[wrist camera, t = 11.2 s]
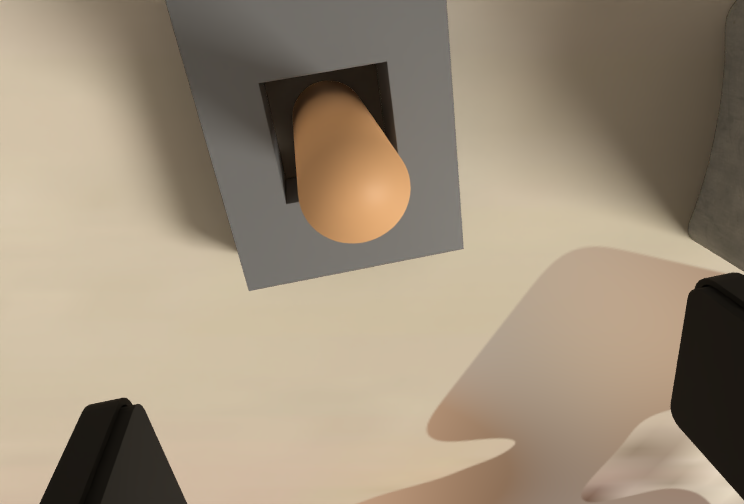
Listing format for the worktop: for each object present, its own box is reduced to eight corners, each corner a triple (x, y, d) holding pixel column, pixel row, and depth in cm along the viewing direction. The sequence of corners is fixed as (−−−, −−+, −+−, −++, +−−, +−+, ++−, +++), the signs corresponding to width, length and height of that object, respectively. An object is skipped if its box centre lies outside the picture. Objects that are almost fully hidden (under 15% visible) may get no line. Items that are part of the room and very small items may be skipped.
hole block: (177, -16, 26) (160, -16, 22) (420, -54, 27) (442, -60, 23) (252, 257, 33) (248, 291, 29) (444, 220, 33) (463, 248, 30)
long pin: (285, 87, 29) (287, 147, 18) (359, 74, 29) (404, 126, 18) (300, 159, 30) (310, 252, 20) (369, 146, 31) (415, 232, 20)
